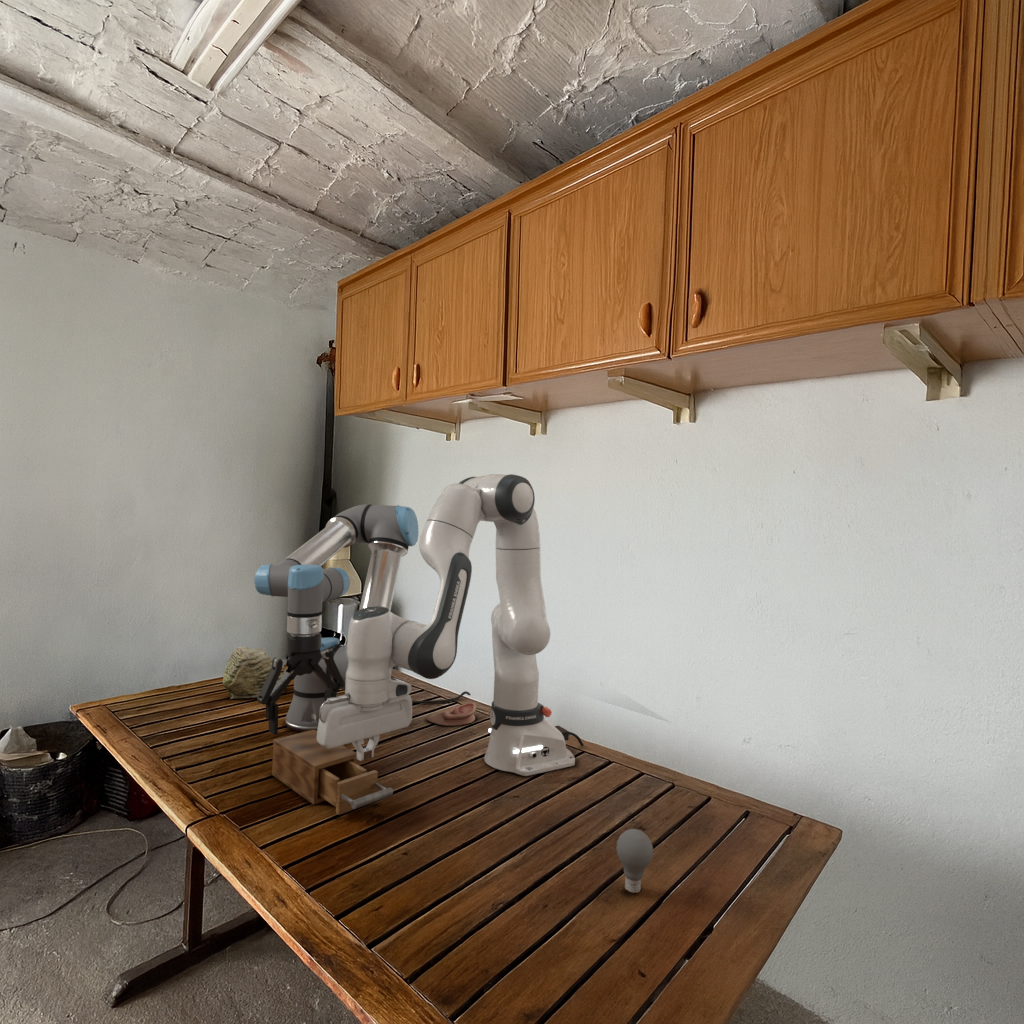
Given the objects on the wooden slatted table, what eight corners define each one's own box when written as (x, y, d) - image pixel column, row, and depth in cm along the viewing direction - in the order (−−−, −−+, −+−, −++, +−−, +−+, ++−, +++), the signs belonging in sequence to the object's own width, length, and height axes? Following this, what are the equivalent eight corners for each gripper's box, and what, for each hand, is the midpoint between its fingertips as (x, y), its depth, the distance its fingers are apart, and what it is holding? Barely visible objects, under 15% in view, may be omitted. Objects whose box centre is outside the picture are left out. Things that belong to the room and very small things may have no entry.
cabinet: (355, 790, 137) (357, 753, 137) (313, 804, 130) (315, 766, 130) (312, 762, 150) (314, 729, 150) (271, 774, 143) (273, 739, 143)
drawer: (392, 810, 127) (393, 780, 127) (354, 825, 121) (355, 794, 121) (332, 773, 143) (333, 746, 143) (295, 784, 137) (297, 756, 136)
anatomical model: (423, 709, 179) (436, 697, 190) (423, 723, 179) (436, 710, 190) (469, 714, 176) (479, 702, 188) (468, 728, 177) (478, 715, 188)
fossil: (218, 695, 195) (220, 647, 195) (278, 685, 208) (279, 640, 207) (228, 703, 189) (230, 653, 188) (289, 692, 201) (290, 645, 201)
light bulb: (610, 879, 108) (613, 822, 108) (644, 879, 109) (647, 822, 109) (619, 902, 102) (622, 840, 102) (655, 901, 103) (658, 840, 103)
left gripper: (257, 644, 132) (255, 744, 133) (360, 628, 150) (358, 717, 151) (242, 637, 138) (240, 734, 138) (343, 623, 156) (341, 708, 156)
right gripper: (329, 704, 116) (326, 778, 117) (417, 684, 131) (415, 750, 131) (311, 695, 121) (309, 767, 121) (399, 677, 136) (396, 741, 136)
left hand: (301, 725), depth 145 cm, fingers open, 13 cm apart
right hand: (365, 758), depth 126 cm, fingers closed
